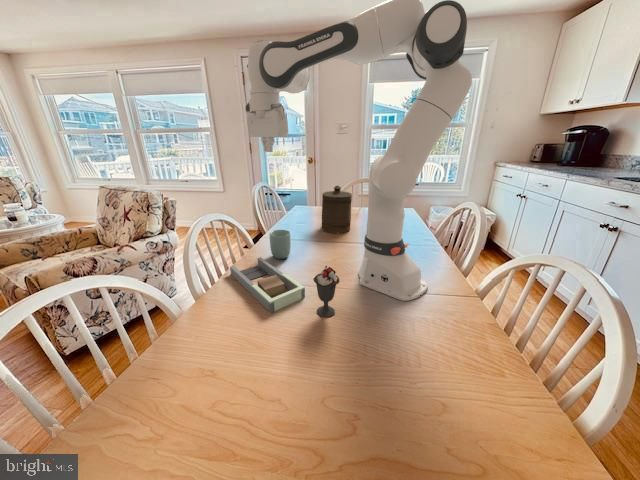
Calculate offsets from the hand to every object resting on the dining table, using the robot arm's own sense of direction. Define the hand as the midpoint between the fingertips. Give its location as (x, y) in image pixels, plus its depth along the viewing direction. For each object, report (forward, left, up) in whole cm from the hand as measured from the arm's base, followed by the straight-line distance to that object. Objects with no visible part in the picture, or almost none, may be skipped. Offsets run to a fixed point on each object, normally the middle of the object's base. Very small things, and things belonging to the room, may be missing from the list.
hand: (268, 152), depth 85 cm
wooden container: (+10, -42, -39) cm, 58 cm away
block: (-21, +14, -39) cm, 46 cm away
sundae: (-38, +7, -39) cm, 55 cm away
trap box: (-16, +13, -39) cm, 44 cm away
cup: (-1, -2, -39) cm, 39 cm away
